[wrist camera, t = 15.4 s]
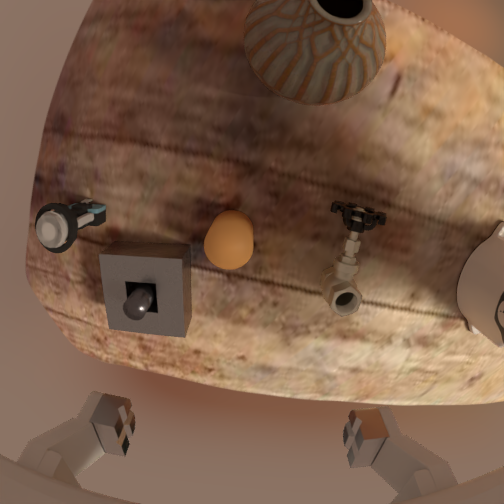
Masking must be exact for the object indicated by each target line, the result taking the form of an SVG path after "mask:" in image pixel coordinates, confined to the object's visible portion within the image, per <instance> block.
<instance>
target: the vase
mask: <svg viewBox="0 0 504 504" xmlns="http://www.w3.org/2000/svg"><path fill="white" fill-rule="evenodd" d="M244 49H245V53H246V57H247V60H248V62H249V64H250V67H251V68H252V70H253V72H254V73H255V75H256V76H257V77H258V79H259V80H260V81H261V82H262V83H263V84H264V85H265V86H266V87H267V88H268V89H270V90H271V91H272V92H274V93H275V94H277V95H278V96H280V97H282V98H284V99H287V100H289V101H292V102H295V103H299V104H304V105H314V106H321V105H330V104H334V103H338V102H341V101H344V100H347V99H349V98H351V97H353V96H354V95H356V94H358V93H359V92H360V91H362V90H363V89H364V88H365V87H367V86H368V85H369V84H370V83H371V82H372V80H373V79H374V78H375V76H376V75H377V73H378V72H379V70H380V68H381V66H382V63H383V60H384V56H385V51H386V32H385V27H384V23H383V20H382V18H381V15H380V13H379V11H378V10H377V8H376V6H375V5H374V3H373V2H372V0H256V1H255V3H254V4H253V6H252V7H251V9H250V11H249V13H248V15H247V18H246V22H245V27H244Z"/></svg>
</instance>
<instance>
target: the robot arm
mask: <svg viewBox="0 0 504 504" xmlns="http://www.w3.org/2000/svg"><path fill="white" fill-rule="evenodd" d="M457 303H458V307H459V310H460V312H461V313H462V315H463V316H464V317H465V318H466V319H467V321H468V325H469V330H470V331H471V332H472V333H473V334H479V333H482V334H483V335H484V336H486V337H487V338H488V339H489V340H490V341H492V342H493V343H494V344H495V345H497V346H498V347H500V348H502V347H504V222H501V223H500V224H499V225H498V227H497V228H496V230H495V231H494V233H493V234H492V236H491V237H489V238H488V239H487V240H485V241H484V242H483V243H482V244H480V245H479V246H478V247H477V248H476V249H475V250H474V252H473V253H472V254H471V256H470V257H469V259H468V260H467V262H466V264H465V266H464V268H463V270H462V273H461V275H460V279H459V282H458V288H457ZM131 407H132V403H131V400H130V399H129V398H124V397H120V396H115V395H110V394H106V393H101V392H97V391H93V392H91V393H90V395H89V396H88V398H87V400H86V402H85V404H84V405H83V407H82V409H81V411H80V413H79V414H78V416H77V418H72V419H70V420H68V421H66V422H64V423H62V424H60V425H59V426H57V427H55V428H53V429H51V430H49V431H47V432H45V433H43V434H41V435H39V436H38V437H36V438H34V439H32V440H30V441H29V442H28V444H27V445H26V447H25V449H24V450H23V452H22V454H21V455H20V457H19V459H18V461H17V462H15V461H13V460H10V459H9V458H7V457H5V456H3V455H1V454H0V504H139V503H135V502H130V501H126V500H122V499H118V498H114V497H110V496H106V495H103V494H99V493H96V492H93V491H89V490H86V489H83V488H81V486H80V484H79V483H78V481H77V480H76V478H75V477H76V476H77V475H78V474H79V473H81V472H82V471H83V470H85V469H86V468H87V467H88V466H90V465H91V464H92V463H94V462H95V461H96V460H97V459H98V458H100V457H101V456H102V455H104V454H105V453H110V454H114V455H119V456H125V455H126V453H127V450H128V447H129V440H128V438H130V437H131V436H133V433H134V430H135V415H134V413H133V412H132V411H131V410H130V409H131ZM348 417H349V422H347V423H346V425H345V427H344V430H343V441H344V446H345V447H346V448H347V449H349V451H348V454H347V457H348V461H349V465H350V468H355V467H366V466H371V468H373V469H374V470H375V471H376V472H377V473H378V474H379V475H380V476H381V477H382V478H383V479H384V480H385V481H386V482H387V483H388V484H389V485H391V487H393V488H394V489H395V490H396V491H397V492H398V493H399V494H398V495H397V496H396V497H395V499H394V500H393V501H392V502H391V504H504V466H503V467H500V468H498V469H496V470H494V471H491V472H489V473H487V474H484V475H482V476H479V477H477V478H474V479H472V480H469V481H466V482H464V483H461V484H458V483H457V481H456V479H455V476H454V474H453V472H452V470H451V468H450V466H449V464H448V462H447V461H445V460H443V459H442V458H440V457H439V456H437V455H436V454H434V453H433V452H431V451H430V450H428V449H427V448H425V447H424V446H422V445H421V444H419V443H417V442H416V441H414V440H413V439H412V438H410V437H409V436H407V435H402V433H401V430H400V428H399V426H398V423H397V421H396V419H395V417H394V415H393V412H392V410H391V408H390V407H389V406H385V407H376V408H365V409H354V410H351V411H350V413H349V416H348ZM104 452H105V453H104Z"/></svg>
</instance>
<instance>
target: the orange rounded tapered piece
mask: <svg viewBox="0 0 504 504" xmlns="http://www.w3.org/2000/svg"><path fill="white" fill-rule="evenodd" d="M204 250H205V254H206V256H207V258H208V259H209V260H210V261H211V262H212V263H213V264H214V265H215V266H217V267H219V268H222V269H236V268H239V267H241V266H243V265H244V264H246V263H247V262H248V260H249V259H250V257H251V255H252V253H253V225H252V222H251V220H250V219H249V217H248V216H247V215H245V214H244V213H242V212H240V211H237V210H227V211H224V212H222V213H220V214H219V215H218V216H217V217H216V218H215V219H214V221H213V223H212V225H211V227H210V229H209V231H208V233H207V235H206V237H205V240H204Z"/></svg>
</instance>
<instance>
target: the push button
mask: <svg viewBox="0 0 504 504" xmlns="http://www.w3.org/2000/svg"><path fill="white" fill-rule="evenodd" d="M92 200H93V199H85V200H82V201H81V203H74V204H72V205H70V206H67V205H64V204H61V203H58V204H57V203H50V204H47V205H45V206H43V207H42V208H41V209H40V210H39V212H38V214H37V216H36V221H35V229H36V234H37V237H38V239H39V241H40V242H41V244H42V245H43V246H44V247H45V248H46V249H47V250H49V251H51V252H53V253H62V252H64V251H66V250H67V249H69V248H70V247H71V245H72V244H73V242H74V241H75V240H76V238H77V231H78V229H83V228H84V227H86V226H88V225H89V226H99V225H100V224H102V223H104V222H105V221H106V205H98V204H89V202H90V201H92ZM51 209H54V210H55V211H50V210H51ZM66 240H67V242H66V243H65V244H63V243H64V242H65V241H66Z"/></svg>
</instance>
